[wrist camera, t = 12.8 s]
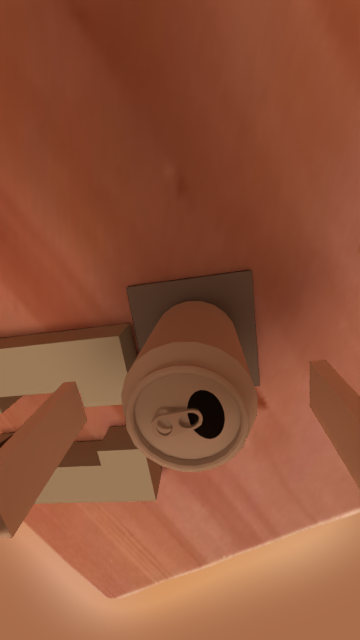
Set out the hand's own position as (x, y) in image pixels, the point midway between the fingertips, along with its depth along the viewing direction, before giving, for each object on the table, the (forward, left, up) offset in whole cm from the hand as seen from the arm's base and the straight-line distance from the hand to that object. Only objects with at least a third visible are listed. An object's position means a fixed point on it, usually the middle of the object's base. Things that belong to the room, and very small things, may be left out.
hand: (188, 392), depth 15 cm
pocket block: (+7, -15, -10) cm, 20 cm away
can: (0, 0, -10) cm, 10 cm away
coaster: (0, 0, -10) cm, 10 cm away
